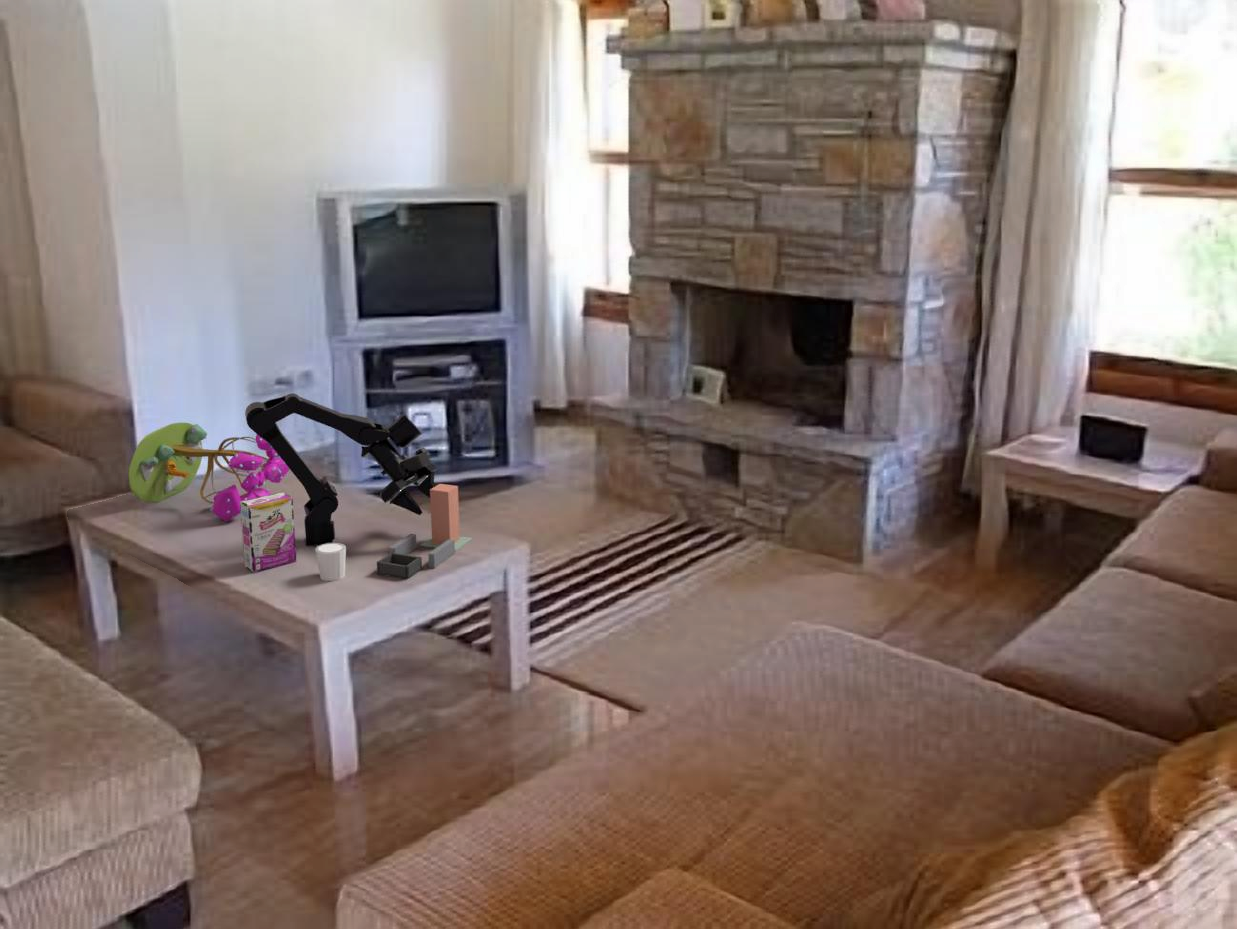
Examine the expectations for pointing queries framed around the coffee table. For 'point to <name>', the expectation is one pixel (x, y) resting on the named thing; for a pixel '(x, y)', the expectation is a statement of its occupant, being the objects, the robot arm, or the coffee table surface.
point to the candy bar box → (268, 531)
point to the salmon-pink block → (444, 513)
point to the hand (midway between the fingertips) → (430, 508)
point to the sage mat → (457, 544)
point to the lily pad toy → (176, 458)
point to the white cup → (331, 561)
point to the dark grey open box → (399, 565)
